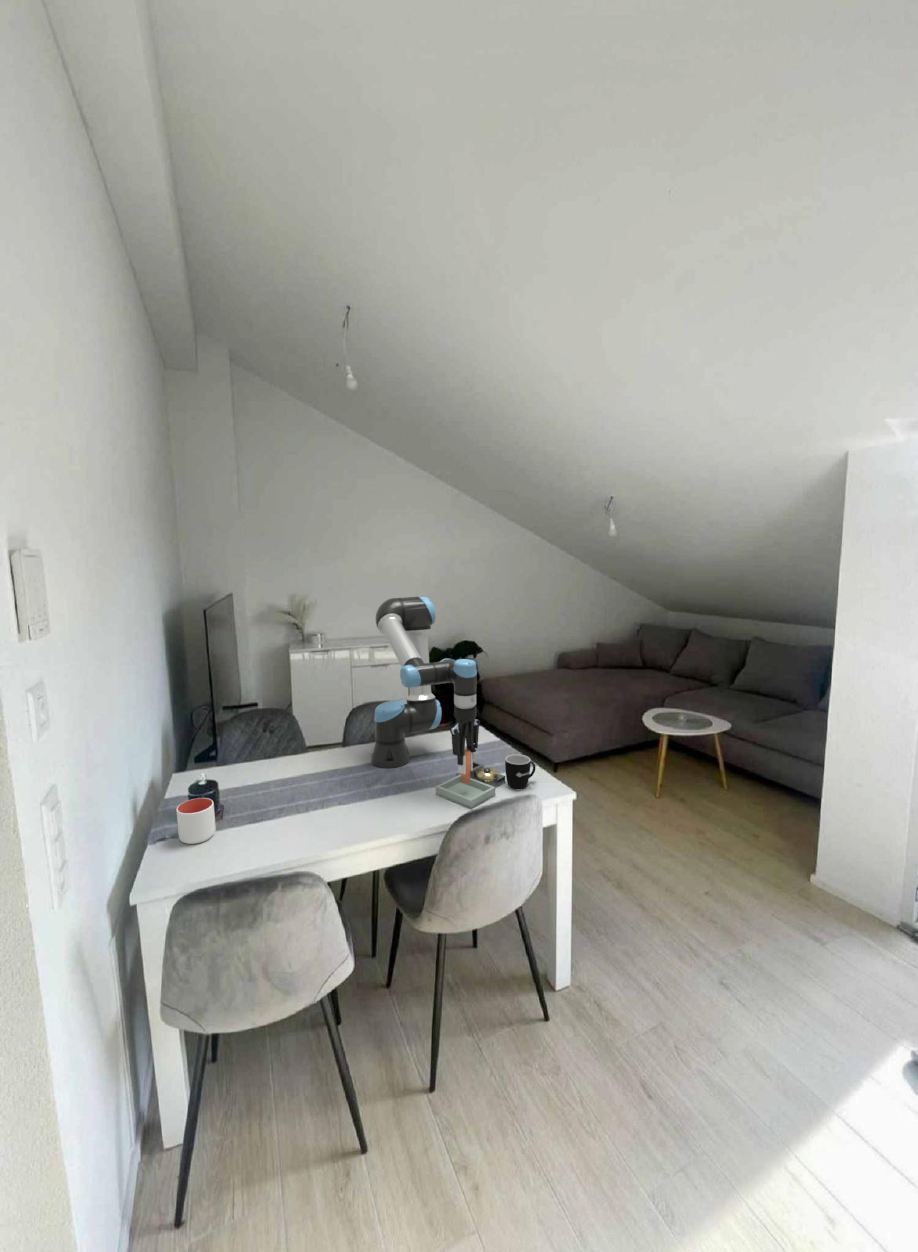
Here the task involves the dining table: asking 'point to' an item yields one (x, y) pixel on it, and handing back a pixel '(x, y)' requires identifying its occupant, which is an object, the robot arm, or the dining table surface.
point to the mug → (518, 771)
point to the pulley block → (486, 775)
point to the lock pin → (466, 777)
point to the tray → (465, 792)
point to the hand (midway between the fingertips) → (465, 771)
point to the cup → (196, 820)
